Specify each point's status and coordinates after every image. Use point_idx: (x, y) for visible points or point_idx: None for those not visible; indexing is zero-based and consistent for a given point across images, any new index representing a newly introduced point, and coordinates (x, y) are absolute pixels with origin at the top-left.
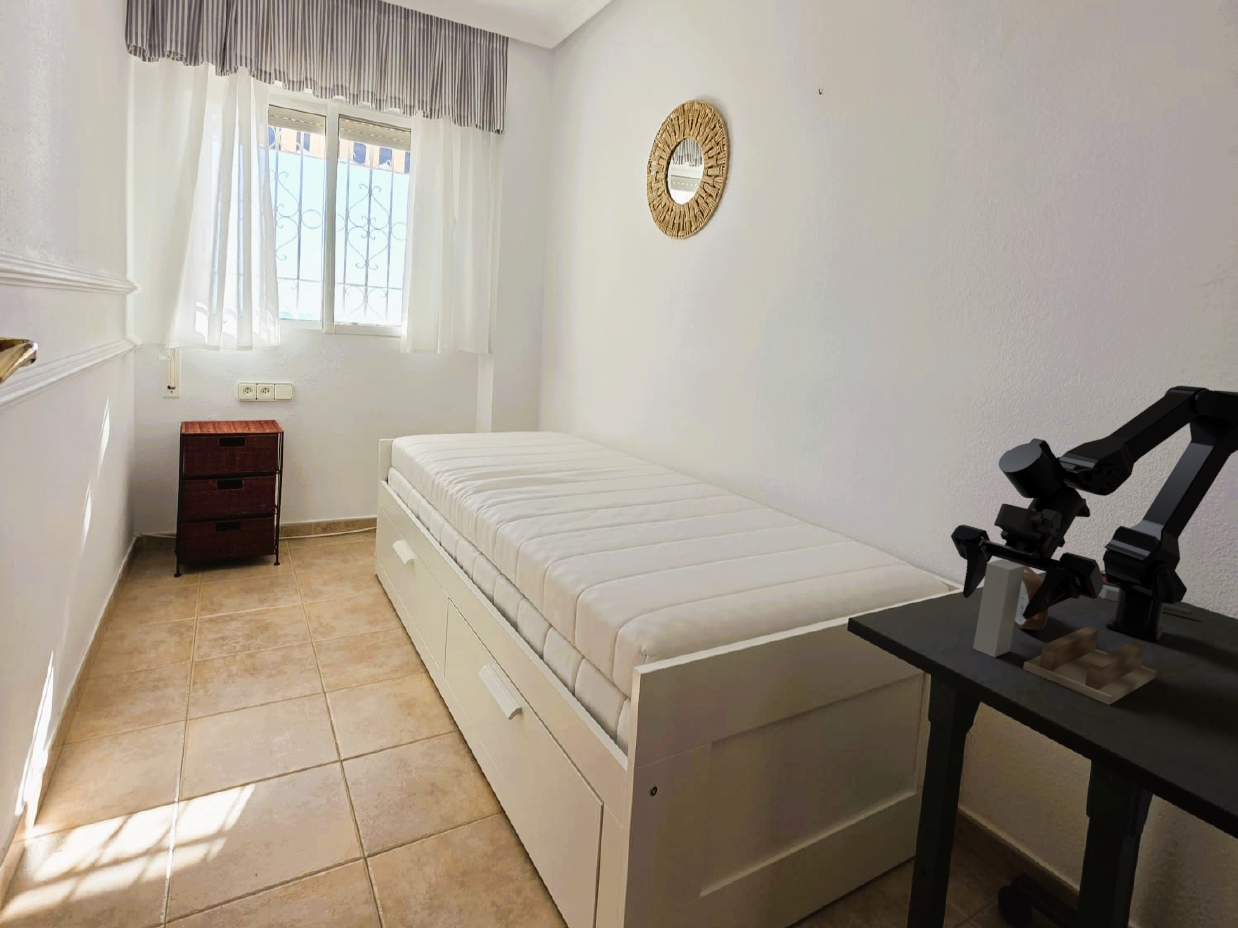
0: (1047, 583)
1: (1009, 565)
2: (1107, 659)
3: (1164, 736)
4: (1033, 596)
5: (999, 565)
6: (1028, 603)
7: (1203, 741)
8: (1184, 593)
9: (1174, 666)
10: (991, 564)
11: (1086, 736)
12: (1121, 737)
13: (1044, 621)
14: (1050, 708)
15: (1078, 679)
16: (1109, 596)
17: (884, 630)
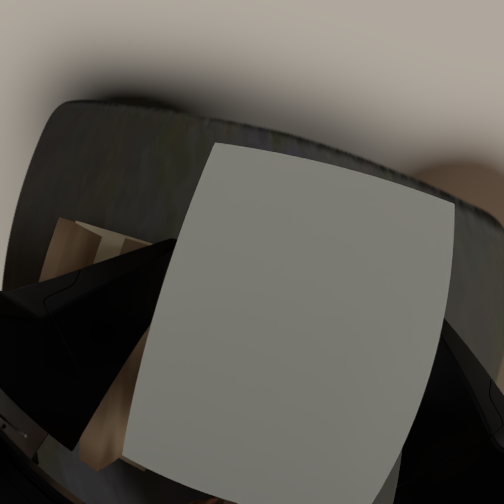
0: (32, 304)
1: (249, 341)
2: (48, 273)
3: (50, 187)
4: (122, 273)
5: (345, 220)
6: (152, 256)
7: (24, 213)
8: None
9: (44, 458)
10: (414, 193)
11: (125, 109)
12: (90, 140)
13: (195, 500)
14: (157, 138)
15: (109, 254)
16: None
17: (477, 235)
